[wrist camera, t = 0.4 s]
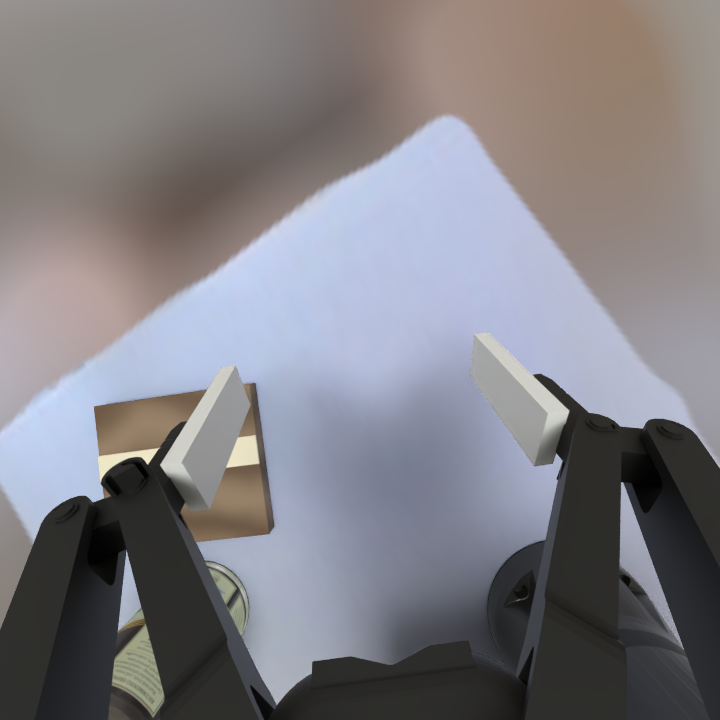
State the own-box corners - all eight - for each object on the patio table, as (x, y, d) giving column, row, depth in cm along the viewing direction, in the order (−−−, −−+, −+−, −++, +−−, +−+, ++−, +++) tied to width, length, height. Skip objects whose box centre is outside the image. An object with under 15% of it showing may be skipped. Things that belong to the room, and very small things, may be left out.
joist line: (259, 463, 32) (258, 463, 32) (102, 482, 33) (100, 483, 33) (256, 434, 32) (255, 435, 32) (99, 455, 33) (97, 456, 33)
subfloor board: (274, 526, 33) (269, 534, 32) (121, 543, 34) (110, 551, 33) (255, 383, 34) (249, 383, 32) (106, 404, 35) (93, 406, 33)
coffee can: (161, 651, 34) (4, 854, 20) (162, 558, 34) (8, 692, 20) (250, 657, 33) (153, 871, 19) (250, 562, 33) (155, 704, 19)
